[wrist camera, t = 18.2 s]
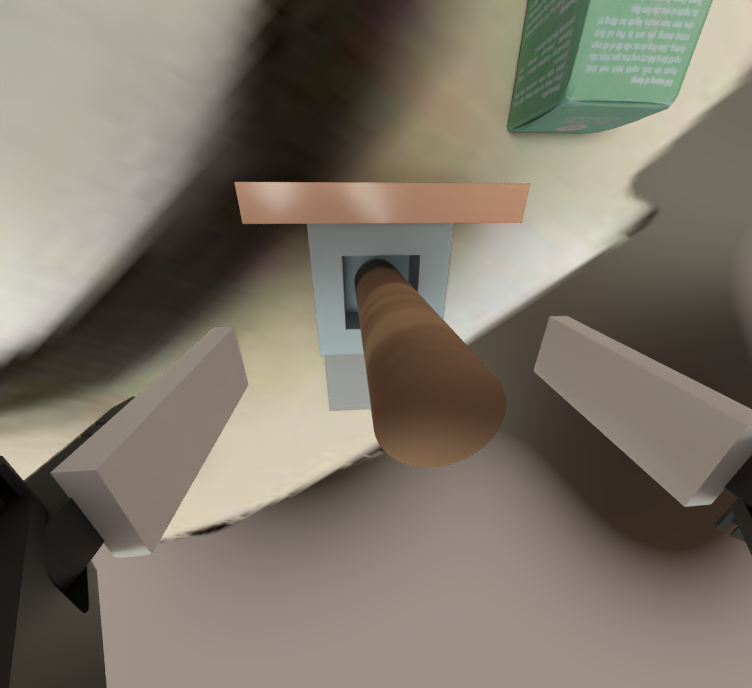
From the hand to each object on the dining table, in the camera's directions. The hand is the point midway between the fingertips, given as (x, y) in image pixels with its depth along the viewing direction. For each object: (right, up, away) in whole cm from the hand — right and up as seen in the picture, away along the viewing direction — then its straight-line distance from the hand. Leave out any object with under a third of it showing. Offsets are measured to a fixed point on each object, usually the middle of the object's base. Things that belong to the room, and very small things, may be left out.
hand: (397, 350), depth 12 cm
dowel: (-1, +6, +13) cm, 14 cm away
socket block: (-1, +7, +15) cm, 17 cm away
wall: (-1, +12, +13) cm, 18 cm away
